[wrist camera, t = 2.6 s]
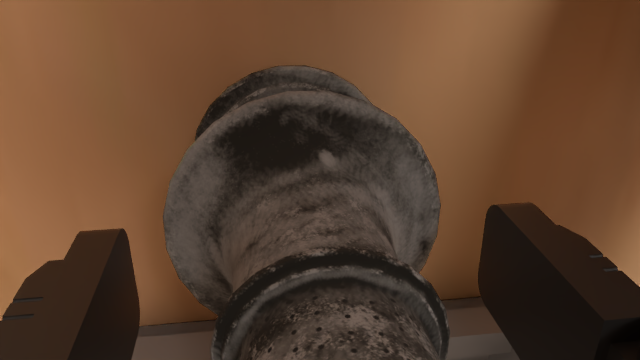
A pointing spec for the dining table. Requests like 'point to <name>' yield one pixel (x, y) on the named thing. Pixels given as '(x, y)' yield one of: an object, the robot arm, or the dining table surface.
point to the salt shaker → (307, 224)
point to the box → (463, 314)
